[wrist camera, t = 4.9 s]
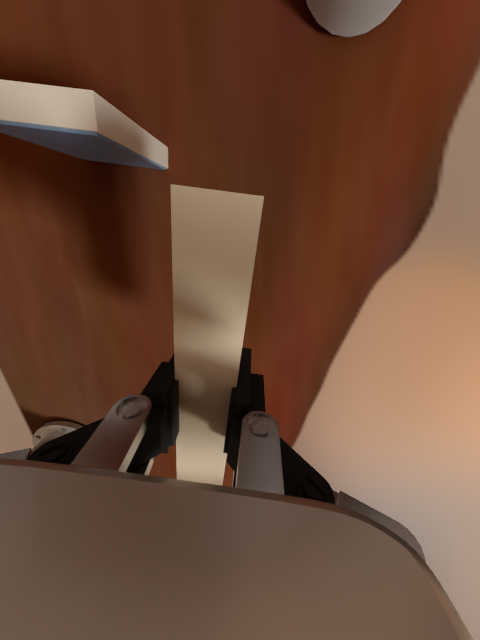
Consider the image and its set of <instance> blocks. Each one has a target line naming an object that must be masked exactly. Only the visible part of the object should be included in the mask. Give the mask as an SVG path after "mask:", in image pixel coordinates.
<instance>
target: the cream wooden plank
mask: <svg viewBox="0 0 480 640" xmlns="http://www.w3.org/2000/svg"><path fill="white" fill-rule="evenodd" d="M263 200H264V196H257V195H249V194H241V193H234V192H226V191H218V190H211V189H203V188H195V187H187V186H180V185H172V184H171V223H172V270H173V317H174V363H175V380H179V433H178V436H177V439H176V457H177V479H178V480H185V481H192V482H200V483H207V484H214V485H221V486H222V484H223V477H224V470H225V463H226V456H227V453H223V450H224V443H225V435H226V427H227V420H228V412H229V404H230V397H231V390H232V387H235V388H236V387H237V380H238V373H239V366H240V359H241V352H242V345H243V338H244V331H245V324H246V317H247V310H248V304H249V297H250V290H251V283H252V276H253V269H254V262H255V255H256V248H257V241H258V234H259V227H260V220H261V213H262V207H263Z"/></svg>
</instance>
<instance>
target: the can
mask: <svg viewBox="0 0 480 640" xmlns="http://www.w3.org/2000/svg"><path fill="white" fill-rule="evenodd" d="M306 2H307V6H308V8H309V9H310V11H311V13H312V14H313V16H314V18H315V19H316V21H317V23H318V24H319V25H321V26H322V27H323V28H325V29H326V30H327V31H329V32H330V33H331V34H334V35H339V36H345V37H352V36H356V35H360V34H364V33H367V32H368V31H370V30H371V29H373V28H374V27H376V26H377V25H379V24H380V23H382V22H383V21H384V20H385V19H386V18H387V17H388V16H389V15H390V13H391V12H392V11H393V10H394V9H395V8H396V7H397V5H398V4H399V3H400V2H401V0H306Z"/></svg>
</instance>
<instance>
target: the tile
mask: <svg viewBox="0 0 480 640" xmlns="http://www.w3.org/2000/svg"><path fill="white" fill-rule="evenodd" d="M0 133H3V134H7V135H10V136H13V137H16V138H19V139H22V140H25V141H28V142H31V143H34V144H37V145H40V146H43V147H46V148H49V149H52V150H56V151H59V152H62V153H65V154H68V155H71V156H74V157H77V158H80V159H83V160H89V161H97V162H105V163H113V164H121V165H129V166H137V167H145V168H153V169H161V170H165V169H168V147H166V146H165V145H164V144H162V143H161V142H160V141H158V140H157V139H156V138H155V137H153V136H152V135H151V134H149V133H148V132H147V131H145V130H144V129H143V128H141V127H140V126H139V125H137V124H136V123H135V122H133V121H132V120H131V119H130V118H128V117H127V116H126V115H124V114H123V113H122V112H120V111H119V110H118V109H116V108H115V107H114V106H112V105H111V104H110V103H109V102H107V101H106V100H105V99H103V98H102V97H101V96H99V95H98V94H97V93H95V92H94V91H93V90H85V89H76V88H68V87H60V86H51V85H43V84H35V83H26V82H18V81H10V80H1V79H0Z"/></svg>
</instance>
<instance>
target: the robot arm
mask: <svg viewBox="0 0 480 640" xmlns="http://www.w3.org/2000/svg"><path fill="white" fill-rule="evenodd" d="M178 433H179V380H175V363H174V354H173V356H172V358H171V359H170V361H169V362H162V363H161V364H160V365H159V367H158V369H157V370H156V372H155V373H154V375H153V376H152V378H151V379H150V381H149V382H148V384H147V385H146V387H145V388H144V390H143V391H142V393H141V394H140V395H129V396H126V397H124V398H122V399H120V400H119V401H117V402H116V404H115V405H114V406H113V407H112V408H111V410H110V411H109V413H108V414H107V415H106V417H105V418H103V419H101V420H98V421H96V422H93V423H91V424H89V425H86V426H82V425H79V424H76V423H73V422H68V421H52V422H48V423H46V424H44V425H42V426H41V427H40V428H39V429H38V430H37V431H36V432H35V434H34V436H33V444H34V448H33V449H32V450H31V448H29V449H24V450H18V451H14V452H9V453H4V454H0V640H473V639H472V637H471V635H470V634H469V632H468V630H467V628H466V626H465V625H464V623H463V621H462V619H461V618H460V616H459V614H458V612H457V611H456V609H455V607H454V606H453V604H452V602H451V600H450V599H449V597H448V595H447V594H446V592H445V591H444V589H443V587H442V585H441V584H440V582H439V581H438V579H437V578H436V576H435V575H434V573H433V572H432V570H431V569H430V568H429V566H428V565H427V564H426V562H425V557H424V554H423V551H422V548H421V546H420V544H419V543H418V542H417V540H416V538H415V537H414V535H412V533H411V532H410V531H409V530H408V529H407V528H406V527H404V526H403V525H402V524H400V523H399V522H397V521H395V520H393V519H392V518H390V517H388V516H386V515H384V514H383V513H381V512H378V511H377V510H375V509H373V508H371V507H370V506H368V505H366V504H364V503H362V502H360V501H358V500H357V499H355V498H353V497H351V496H349V495H347V494H346V493H344V492H342V491H340V493H337V492H335V491H333V490H332V488H331V487H330V485H329V483H328V482H327V481H326V480H325V479H324V478H323V477H322V476H321V475H320V474H319V473H318V472H317V471H316V470H315V469H314V468H313V467H311V466H310V465H309V464H308V463H307V462H306V461H305V460H304V459H303V458H302V457H301V456H300V455H299V454H298V453H296V452H295V451H294V450H293V449H292V448H291V447H290V446H289V445H288V444H287V443H286V442H285V441H283V440H282V439H281V438H280V437H279V427H278V424H277V422H276V420H275V419H274V418H273V417H272V416H271V415H270V414H268V413H266V412H265V397H264V379H263V375H259V374H252V373H251V349H248V348H242V352H241V359H240V366H239V373H238V380H237V387H236V388H235V387H232V390H231V397H230V404H229V412H228V420H227V427H226V435H225V443H224V450H223V453H228V457H227V462H228V464H229V465H230V466H231V468H232V469H233V470H234V475H233V484H232V487H228V486H221V485H214V484H207V483H200V482H192V481H185V480H178V479H171V478H164V477H156V476H149V472H150V470H151V467H152V465H153V462H154V457H155V456H157V455H159V454H161V453H166V454H167V452H168V449H169V446H174V444H175V441H176V439H177V436H178Z"/></svg>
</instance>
